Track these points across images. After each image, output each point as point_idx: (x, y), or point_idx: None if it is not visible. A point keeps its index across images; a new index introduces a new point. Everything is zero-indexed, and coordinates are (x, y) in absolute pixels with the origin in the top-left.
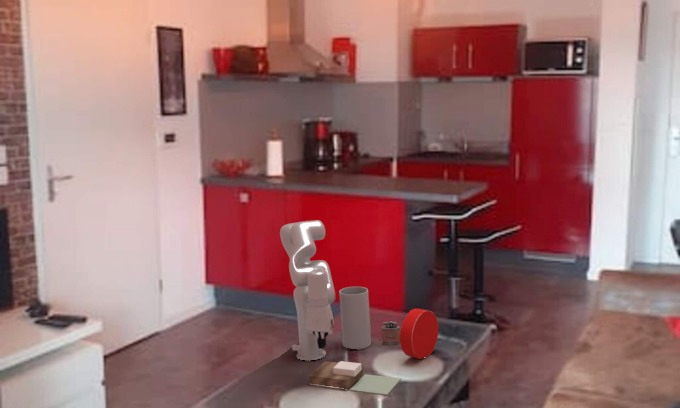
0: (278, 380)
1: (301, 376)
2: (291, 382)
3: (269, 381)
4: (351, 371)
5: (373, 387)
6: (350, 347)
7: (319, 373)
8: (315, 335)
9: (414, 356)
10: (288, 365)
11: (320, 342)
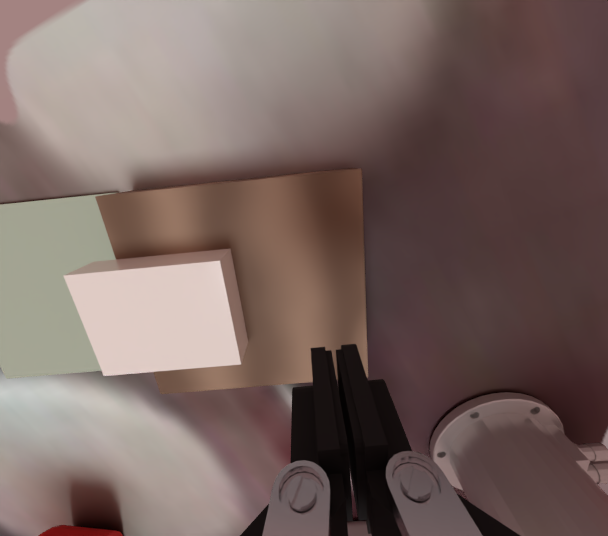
0: (553, 158)
1: (446, 250)
2: (468, 163)
3: (604, 124)
4: (92, 270)
5: (33, 258)
6: (362, 530)
7: (314, 223)
8: (463, 509)
9: (64, 529)
10: (562, 334)
11: (336, 402)
